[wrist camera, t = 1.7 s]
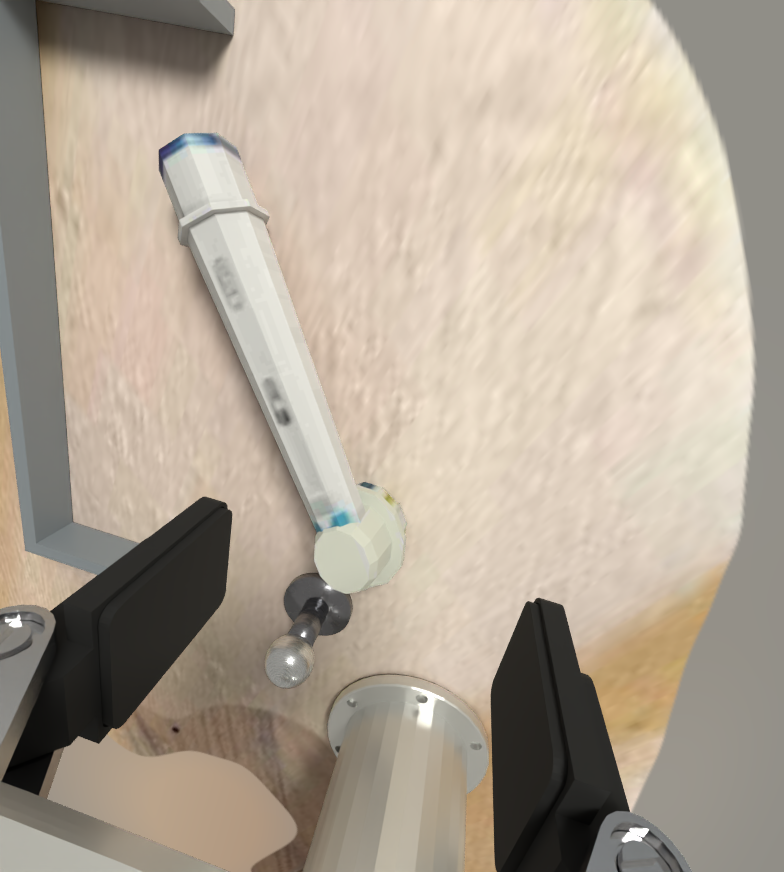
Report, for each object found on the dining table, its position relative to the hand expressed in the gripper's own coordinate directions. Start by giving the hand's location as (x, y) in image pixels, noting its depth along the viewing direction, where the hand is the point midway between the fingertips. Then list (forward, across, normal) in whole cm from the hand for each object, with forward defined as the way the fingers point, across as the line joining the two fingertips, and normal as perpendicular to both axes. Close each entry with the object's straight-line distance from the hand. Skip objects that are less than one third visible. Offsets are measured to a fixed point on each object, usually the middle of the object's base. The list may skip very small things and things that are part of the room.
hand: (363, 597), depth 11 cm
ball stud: (+16, +4, +16) cm, 23 cm away
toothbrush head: (+16, +8, 0) cm, 18 cm away
